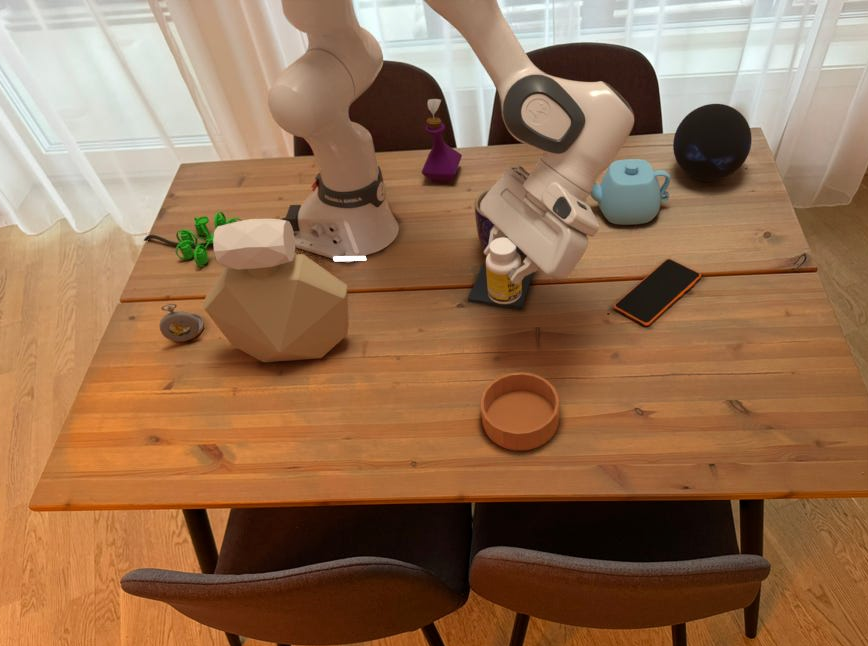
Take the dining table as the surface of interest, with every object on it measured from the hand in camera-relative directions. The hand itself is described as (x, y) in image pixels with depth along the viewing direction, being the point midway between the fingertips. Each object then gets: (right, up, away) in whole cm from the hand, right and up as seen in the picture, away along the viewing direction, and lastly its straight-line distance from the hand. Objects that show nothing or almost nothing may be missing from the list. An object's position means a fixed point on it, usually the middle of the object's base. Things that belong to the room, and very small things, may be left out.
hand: (500, 269), depth 114 cm
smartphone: (+29, -2, +20) cm, 36 cm away
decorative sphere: (+45, +25, +43) cm, 67 cm away
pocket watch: (-57, -9, +25) cm, 63 cm away
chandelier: (-58, +10, +42) cm, 72 cm away
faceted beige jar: (-36, -12, +20) cm, 42 cm away
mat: (+1, 0, +25) cm, 25 cm away
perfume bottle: (-10, +26, +51) cm, 58 cm away
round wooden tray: (+3, -23, +4) cm, 24 cm away
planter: (+3, +8, +33) cm, 34 cm away
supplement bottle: (+1, -4, +4) cm, 6 cm away
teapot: (+27, +16, +37) cm, 49 cm away
